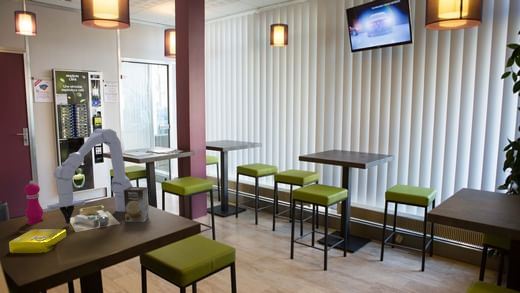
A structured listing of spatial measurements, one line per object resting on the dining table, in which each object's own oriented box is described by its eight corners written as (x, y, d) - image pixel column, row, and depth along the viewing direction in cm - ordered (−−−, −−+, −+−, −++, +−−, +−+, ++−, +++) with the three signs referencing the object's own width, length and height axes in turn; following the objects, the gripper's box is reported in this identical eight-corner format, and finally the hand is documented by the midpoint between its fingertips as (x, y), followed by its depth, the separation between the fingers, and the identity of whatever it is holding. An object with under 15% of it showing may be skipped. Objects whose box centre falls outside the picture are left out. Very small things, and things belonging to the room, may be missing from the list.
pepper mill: (35, 225, 167) (31, 182, 165) (22, 224, 169) (18, 182, 166) (47, 220, 174) (44, 179, 172) (34, 219, 176) (31, 179, 173)
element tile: (68, 238, 151) (68, 227, 150) (46, 253, 136) (45, 241, 135) (33, 239, 151) (32, 227, 151) (7, 253, 136) (6, 241, 136)
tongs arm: (80, 220, 169) (79, 212, 169) (99, 224, 162) (98, 216, 162) (75, 221, 167) (74, 213, 166) (94, 226, 160) (93, 218, 160)
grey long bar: (102, 215, 176) (102, 208, 176) (110, 225, 162) (110, 217, 162) (93, 217, 174) (92, 210, 173) (100, 227, 160) (100, 219, 159)
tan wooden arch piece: (102, 211, 182) (102, 205, 181) (104, 214, 178) (104, 207, 177) (80, 215, 176) (79, 208, 176) (81, 218, 172) (81, 211, 172)
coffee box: (124, 224, 167) (122, 189, 165) (131, 219, 173) (129, 186, 171) (144, 224, 166) (142, 189, 164) (149, 220, 172) (147, 186, 170)
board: (108, 213, 184) (107, 211, 184) (120, 226, 164) (120, 223, 164) (68, 220, 174) (67, 217, 174) (75, 234, 154) (75, 232, 154)
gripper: (82, 189, 168) (84, 217, 169) (45, 193, 160) (48, 223, 161) (84, 191, 162) (87, 221, 163) (47, 197, 154) (49, 228, 155)
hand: (68, 223), depth 162 cm, fingers closed
